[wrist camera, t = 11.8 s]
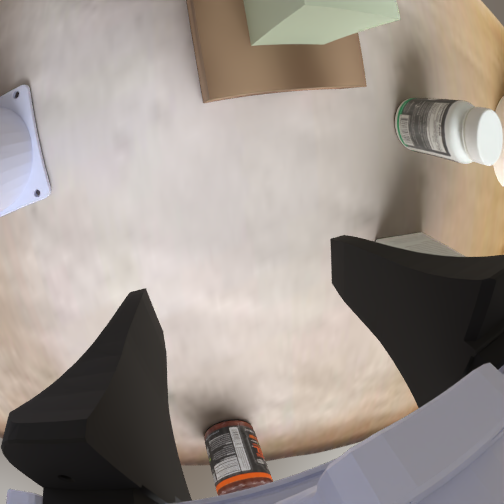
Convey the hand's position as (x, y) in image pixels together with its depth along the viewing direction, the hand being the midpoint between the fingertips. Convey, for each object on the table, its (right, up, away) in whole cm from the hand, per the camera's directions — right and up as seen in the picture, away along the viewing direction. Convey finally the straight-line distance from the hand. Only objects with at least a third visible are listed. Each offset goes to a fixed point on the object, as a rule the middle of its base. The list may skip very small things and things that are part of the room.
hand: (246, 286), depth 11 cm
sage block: (+2, +15, +2) cm, 15 cm away
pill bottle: (+14, +12, +10) cm, 21 cm away
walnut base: (+1, +16, +5) cm, 17 cm away
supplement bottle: (-3, -20, +20) cm, 28 cm away
